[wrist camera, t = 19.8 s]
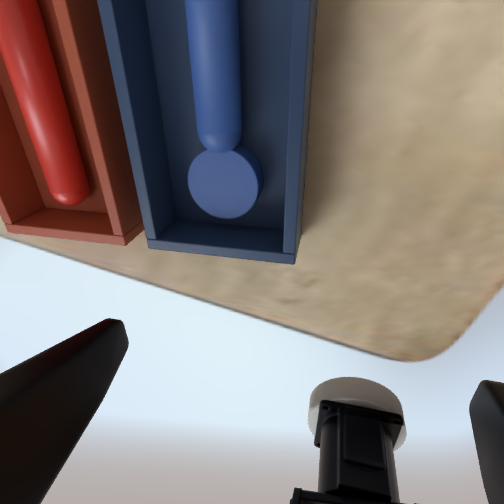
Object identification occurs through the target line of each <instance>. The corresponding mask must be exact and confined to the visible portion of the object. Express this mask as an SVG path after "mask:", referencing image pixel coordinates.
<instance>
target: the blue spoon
mask: <svg viewBox="0 0 504 504" xmlns="http://www.w3.org/2000/svg"><path fill="white" fill-rule="evenodd" d="M184 1H185V11H186V22H187V32H188V42H189V52H190V62H191V72H192V82H193V92H194V103H195V113H196V123H197V132H198V137H199V139H200V141H201V143H202V144H203V145H204V147H205V148H206V149H205V150H203V151H202V152H201V153H199V154H198V155H197V156H196V157H195V158H194V159H193V161H192V163H191V165H190V167H189V171H188V187H189V190H190V193H191V195H192V197H193V199H194V201H195V202H196V203H197V205H198V206H199V207H200V208H201V209H203V210H204V211H205V212H207V213H208V214H210V215H212V216H214V217H217V218H222V219H233V218H237V217H240V216H242V215H244V214H246V213H247V212H248V211H249V210H250V209H251V208H252V207H253V205H254V204H255V202H256V201H257V199H258V197H259V195H260V193H261V191H262V187H263V173H262V169H261V166H260V164H259V162H258V160H257V159H256V157H255V156H254V155H253V154H252V153H251V152H250V151H249V150H248V149H246V148H245V147H243V146H241V145H239V144H238V143H239V141H240V139H241V136H242V110H241V78H240V46H239V14H238V0H184Z"/></svg>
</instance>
